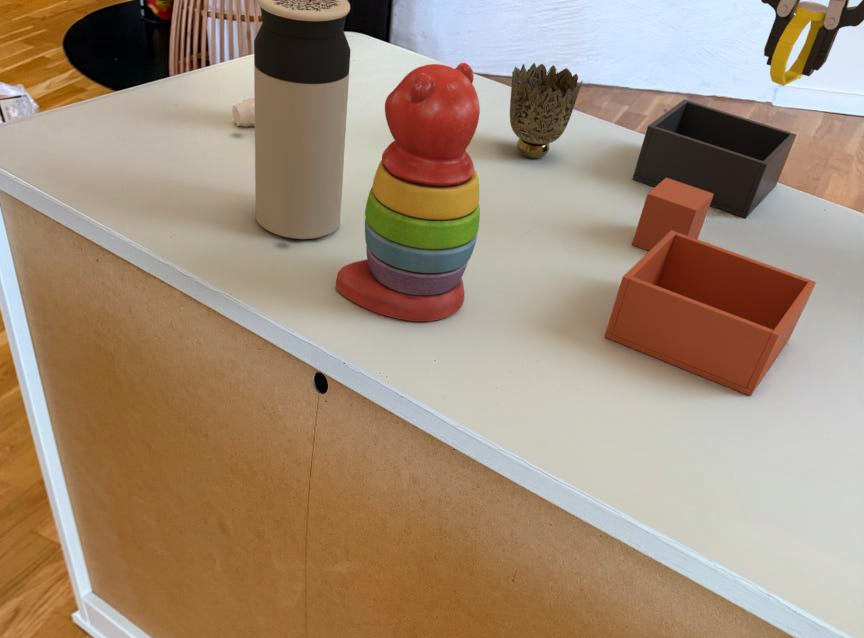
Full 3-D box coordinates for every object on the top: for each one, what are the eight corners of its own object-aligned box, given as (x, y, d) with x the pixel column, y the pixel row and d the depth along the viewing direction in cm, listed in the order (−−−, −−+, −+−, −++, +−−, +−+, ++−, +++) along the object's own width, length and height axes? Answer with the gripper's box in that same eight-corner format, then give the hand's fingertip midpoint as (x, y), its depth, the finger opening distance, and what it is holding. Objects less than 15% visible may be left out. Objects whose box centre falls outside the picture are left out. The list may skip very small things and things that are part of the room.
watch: (787, 70, 87) (816, -4, 82) (813, 80, 86) (844, 6, 81) (755, 81, 84) (783, 5, 79) (781, 92, 82) (812, 15, 78)
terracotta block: (695, 244, 92) (714, 193, 89) (678, 261, 89) (696, 210, 86) (650, 227, 94) (666, 177, 90) (631, 244, 91) (647, 193, 87)
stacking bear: (416, 253, 85) (444, 33, 72) (493, 302, 81) (538, 78, 67) (325, 284, 80) (337, 53, 67) (402, 338, 76) (431, 102, 62)
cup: (493, 138, 105) (507, 59, 99) (555, 142, 106) (572, 64, 100) (506, 166, 100) (521, 85, 94) (570, 169, 102) (589, 89, 96)
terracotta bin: (788, 340, 82) (816, 281, 77) (750, 396, 75) (779, 335, 71) (651, 288, 85) (671, 229, 81) (603, 337, 79) (622, 276, 75)
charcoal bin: (776, 185, 104) (797, 134, 100) (745, 218, 98) (767, 164, 93) (668, 150, 108) (684, 99, 104) (632, 179, 101) (647, 125, 97)
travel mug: (357, 226, 88) (373, 5, 74) (297, 250, 83) (303, 21, 70) (298, 195, 91) (304, -22, 77) (238, 217, 87) (232, -9, 73)
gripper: (985, -169, 71) (874, 80, 84) (809, -203, 75) (728, 39, 88) (972, -160, 67) (856, 101, 80) (785, -197, 71) (704, 57, 84)
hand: (789, 67), depth 84 cm, fingers closed on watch, 2 cm apart
